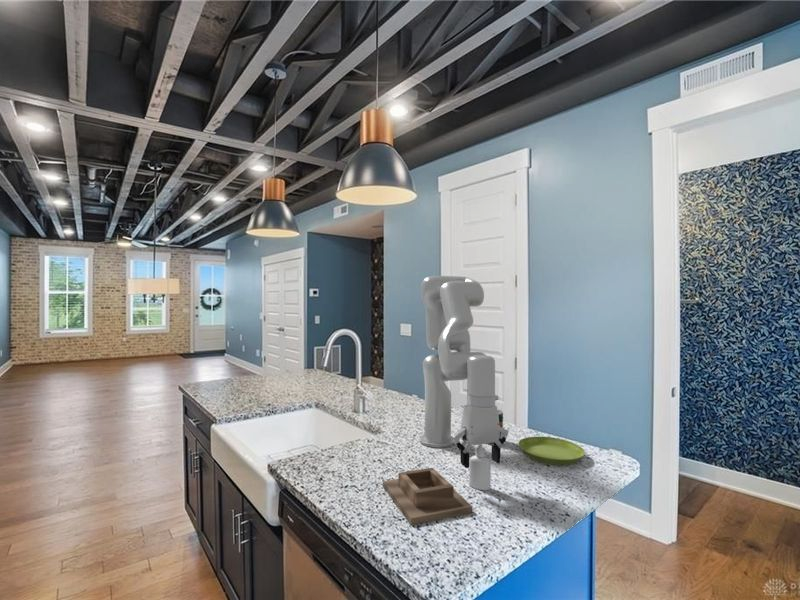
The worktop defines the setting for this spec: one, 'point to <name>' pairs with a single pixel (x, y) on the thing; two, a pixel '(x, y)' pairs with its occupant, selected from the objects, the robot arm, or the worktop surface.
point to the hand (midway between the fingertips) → (480, 463)
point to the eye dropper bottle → (480, 470)
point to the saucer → (551, 450)
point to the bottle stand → (425, 496)
